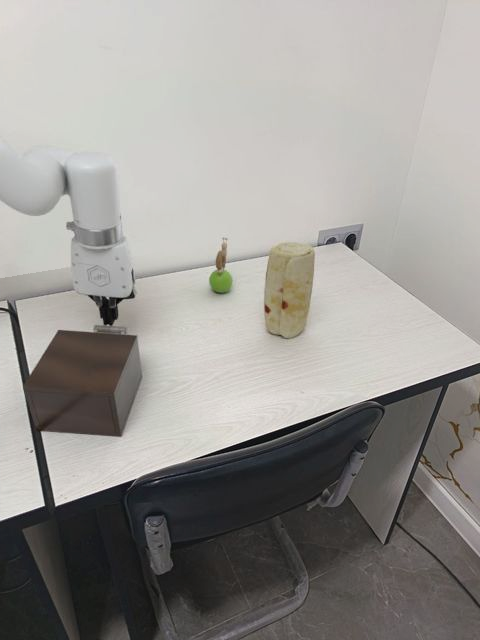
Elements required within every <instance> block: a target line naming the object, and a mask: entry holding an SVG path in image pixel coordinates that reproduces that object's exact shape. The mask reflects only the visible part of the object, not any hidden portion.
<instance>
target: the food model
mask: <svg viewBox="0 0 480 640" xmlns="http://www.w3.org/2000/svg"><path fill="white" fill-rule="evenodd" d="M315 259H316V252H315V249H314V247H313V246H312V245H310V244H307V243H300V242H295V241H286V242H280V243H278V244H276V245H273V246H272V247H271V248H270V250H269V254H268V259H267V266H266V272H265V279H264V280H265V281H264V291H263V292H264V293H263V296H264V297H263V311H264V312H263V313H264V314H263V315H264V323H265V328H266V330H267V331H268V332H269V333H270V334H273V335H277V336H278V335H280V336H282V338H284V339H293V338H294V337H297V336H298V335H299V334H301V333H302V331H304V330H305V328H306V327H307V322H308V316H309V312H310V306H311V301H312V300H311V299H312V294H313V293H312V292H313V286H314V277H315V276H314V275H315Z"/></svg>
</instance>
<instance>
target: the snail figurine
mask: <svg viewBox="0 0 480 640" xmlns="http://www.w3.org/2000/svg"><path fill="white" fill-rule="evenodd" d="M221 239H222V243H221V250H219V251H218V252H217V254H216V258H215V267H216V269H215V270H213V271H212V272H211V274H210V275H209V277H208V284H209V287H210V288H211V289H212V290H213V291H214V292H216V293H219V294H221V293H226V292H227V291H229V290H230V289H231V288H232V286H233V281H234V280H233V276H232V274H231V272H229V271H228V270H227V269H225V268H226V263H227V254H228V252H227V250H228V244H227V241H228V237H224V236H223V237H222V238H221ZM224 241H225V242H224Z"/></svg>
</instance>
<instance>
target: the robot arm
mask: <svg viewBox="0 0 480 640" xmlns="http://www.w3.org/2000/svg"><path fill="white" fill-rule="evenodd" d="M65 195H67V196H68V197H69V199H70V200H69V201H70V206H71V214H72V219H73V220H72V221H67V222H66V225H65V226H66V230H67V231H71V232H73V234H74V236H73V237H72V238H71V242H70V269H71V281H72V282H71V283H72V287H73V289H74V291H75V292H76V293H77V294H78V295H82V296H87V297H88V298H90V300H92V301H93V302H94V303H95V306H96V307H98V311H99V317H100V319H102V324H103V325H105V326H114V324H115V322H116V321H117V320H118V319H119V307H118V306H119V304H120V303H122V302H123V301H124V300H134V299H135V298H136V296H137V294H138V293H137V289H136V287H135V284H136V273H135V266H134V261H133V255H132V252H131V247H130V244H129V241H128V238H127V237H126V236H124V235H123V223H122V211H121V203H120V202H121V201H120V189H119V178H118V169H117V164H116V162H115V160H114V159H113V157H111V156H110V155H108V154H106V153H103V152H100V151H81V152H78V151H72V150H69V149H64V148H59V147H55V146H49V145H34V146H32V147H30V148H29V149H27V150H26V151H25V152H24V153H23V154H22V155H21V154H20V153H19V152H18V151H16V149H14V148H13V147H12V146H10V144H8V143H7V142H6V141H5V139H3V138H2V136H0V202H2V203H3V204H5V205H7V206H8V207H9V208H11V209H13V210H14V211H16V212H18V213H21V214H23V215H26V216H31V217H40V216H44V215H47V214H48V213H50V212H51V211H53V210H54V209H55V208H56V206H57V205H58V203H59V201H60V200H61V198H62V197H64V196H65ZM107 297H108V298H107Z"/></svg>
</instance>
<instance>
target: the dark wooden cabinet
mask: <svg viewBox="0 0 480 640" xmlns="http://www.w3.org/2000/svg"><path fill="white" fill-rule="evenodd" d="M139 348H140V347H139V339H138V335H137V334H125V335H123V334H112V333H110V334H109V333H96V332H94V331H82V330H69V331H68V329H67V330H66V329H65V330H64V329H58V330H57V331H56V333H55V335H54V336H53V337H52V339H51V341H50V342H49V344H48V345H47V347H46V349H45V350H44V352H43V353H42V355H41V357H40V358H39V360H38V361H37V363H36V365H35V366H34V368H33V369H32V371H31V373H30V375H29V376H28V378H27V379H26V380H25V382H24V384H23V385H22V389H23V392H24V395H25V399H26V401H27V405H28V408H29V411H30V414H31V417H32V420H33V423H34V426H35V430H36V431H37V432H48V433H49V432H50V433H63V434H74V435H75V434H77V435H91V436H106V437H118V438H119V437H120V438H122V436H123V433H124V430H125V427H126V425H127V422H128V419H129V416H130V413H131V410H132V408H133V405H134V401H135V398H136V396H137V393H138V390H139V387H140V384H141V382H142V378H143V373H142V364H141V356H140V349H139Z"/></svg>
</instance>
